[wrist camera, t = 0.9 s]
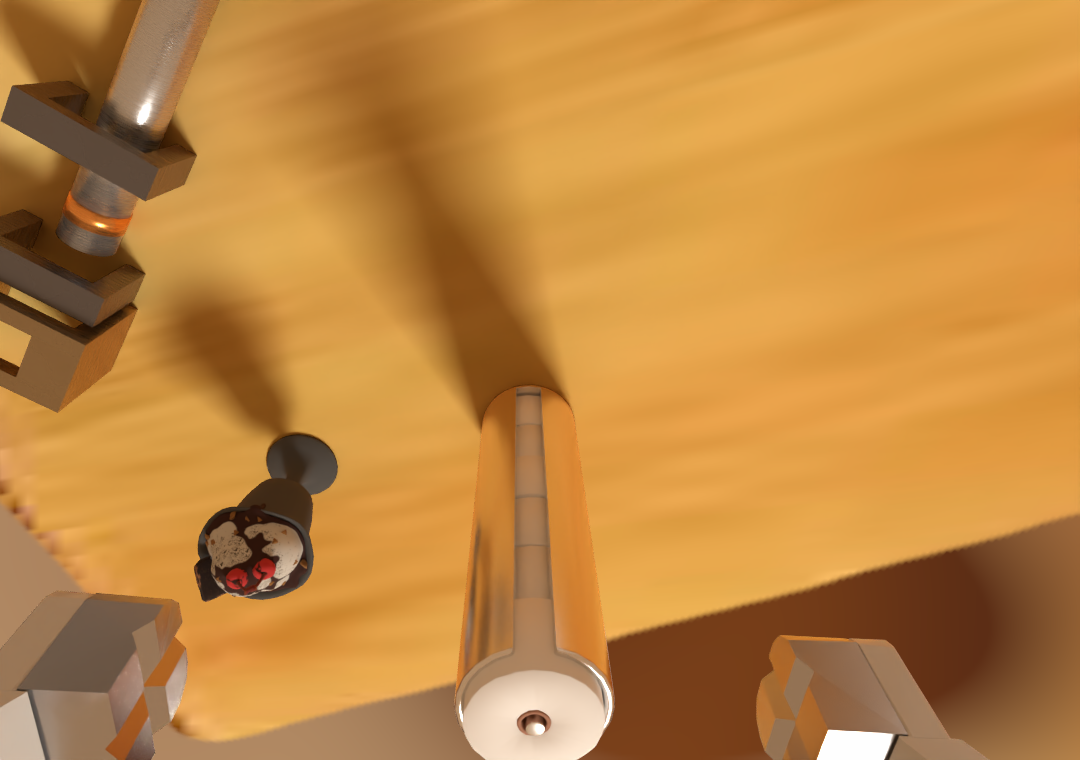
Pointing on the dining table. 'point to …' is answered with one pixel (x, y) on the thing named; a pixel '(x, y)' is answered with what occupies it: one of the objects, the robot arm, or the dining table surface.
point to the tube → (136, 115)
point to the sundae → (267, 527)
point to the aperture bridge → (60, 353)
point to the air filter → (532, 591)
